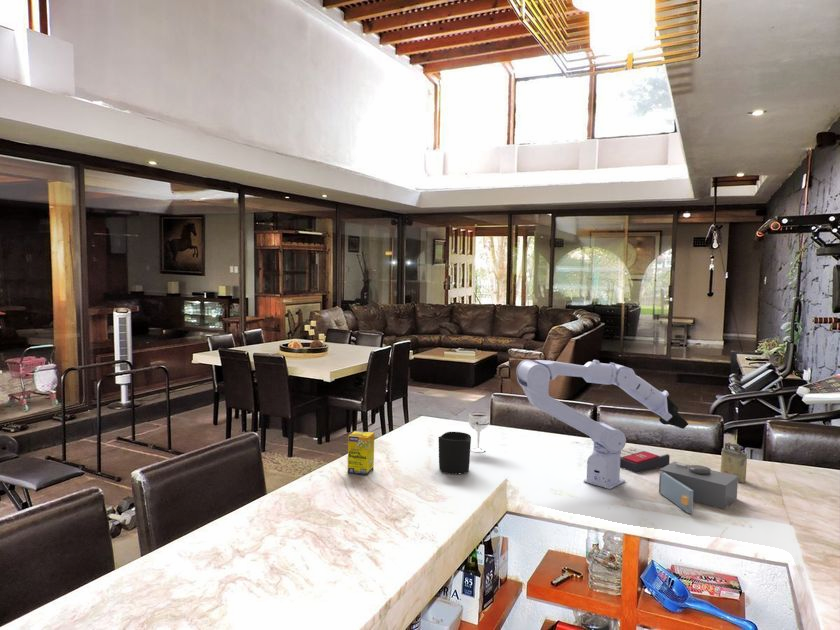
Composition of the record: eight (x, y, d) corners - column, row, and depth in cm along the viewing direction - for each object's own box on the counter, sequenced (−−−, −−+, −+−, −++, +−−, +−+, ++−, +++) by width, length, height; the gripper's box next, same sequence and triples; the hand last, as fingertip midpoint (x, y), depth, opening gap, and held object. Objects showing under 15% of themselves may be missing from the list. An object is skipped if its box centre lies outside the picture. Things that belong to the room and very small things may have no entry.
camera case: (724, 509, 139) (726, 481, 139) (658, 491, 150) (660, 465, 150) (736, 498, 146) (738, 472, 146) (673, 482, 157) (674, 457, 157)
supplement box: (347, 473, 160) (347, 435, 159) (354, 467, 165) (355, 430, 165) (367, 475, 158) (367, 437, 158) (373, 469, 164) (374, 431, 163)
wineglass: (464, 448, 186) (465, 412, 186) (483, 447, 188) (484, 411, 188) (472, 454, 180) (473, 417, 179) (492, 453, 182) (493, 416, 181)
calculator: (607, 451, 174) (640, 443, 182) (607, 465, 175) (640, 456, 182) (636, 462, 165) (670, 452, 172) (636, 476, 165) (670, 466, 173)
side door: (685, 513, 135) (686, 490, 135) (655, 491, 149) (656, 471, 149) (692, 513, 136) (693, 490, 135) (662, 491, 149) (663, 471, 149)
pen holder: (475, 473, 162) (476, 438, 162) (445, 476, 159) (446, 441, 158) (461, 463, 171) (462, 430, 170) (432, 466, 167) (433, 433, 167)
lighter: (748, 482, 159) (750, 447, 159) (740, 484, 157) (742, 448, 157) (724, 474, 166) (726, 440, 165) (716, 476, 164) (718, 442, 163)
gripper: (663, 396, 150) (700, 423, 152) (646, 370, 163) (681, 395, 165) (644, 414, 152) (681, 440, 155) (629, 387, 166) (664, 411, 168)
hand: (680, 418), depth 160 cm, fingers open, 7 cm apart
